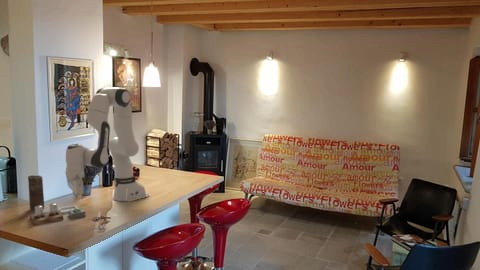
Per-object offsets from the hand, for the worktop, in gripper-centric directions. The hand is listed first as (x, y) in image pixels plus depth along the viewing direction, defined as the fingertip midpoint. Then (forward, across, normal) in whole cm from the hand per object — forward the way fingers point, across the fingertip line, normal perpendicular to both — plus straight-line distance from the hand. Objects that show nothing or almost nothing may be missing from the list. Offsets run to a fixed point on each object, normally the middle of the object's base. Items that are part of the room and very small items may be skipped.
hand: (75, 198), depth 201 cm
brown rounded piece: (+10, +24, +16) cm, 31 cm away
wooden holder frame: (+10, +4, +14) cm, 18 cm away
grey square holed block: (+10, 0, 0) cm, 10 cm away
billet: (+10, +4, +10) cm, 15 cm away
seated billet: (+10, +4, +18) cm, 21 cm away
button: (+9, 0, 0) cm, 9 cm away
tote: (+10, +11, +2) cm, 15 cm away
